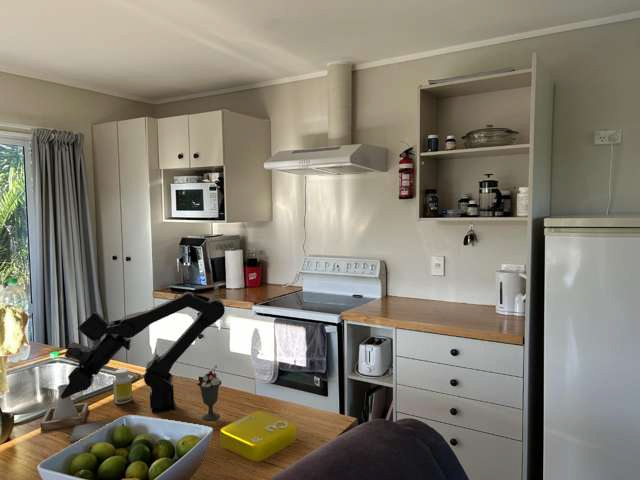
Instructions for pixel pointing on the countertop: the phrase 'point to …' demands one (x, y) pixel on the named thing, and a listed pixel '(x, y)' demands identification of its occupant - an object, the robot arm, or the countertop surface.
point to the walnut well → (64, 422)
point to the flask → (64, 406)
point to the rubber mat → (86, 430)
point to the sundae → (209, 393)
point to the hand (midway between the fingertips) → (65, 391)
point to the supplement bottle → (122, 386)
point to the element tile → (258, 435)
